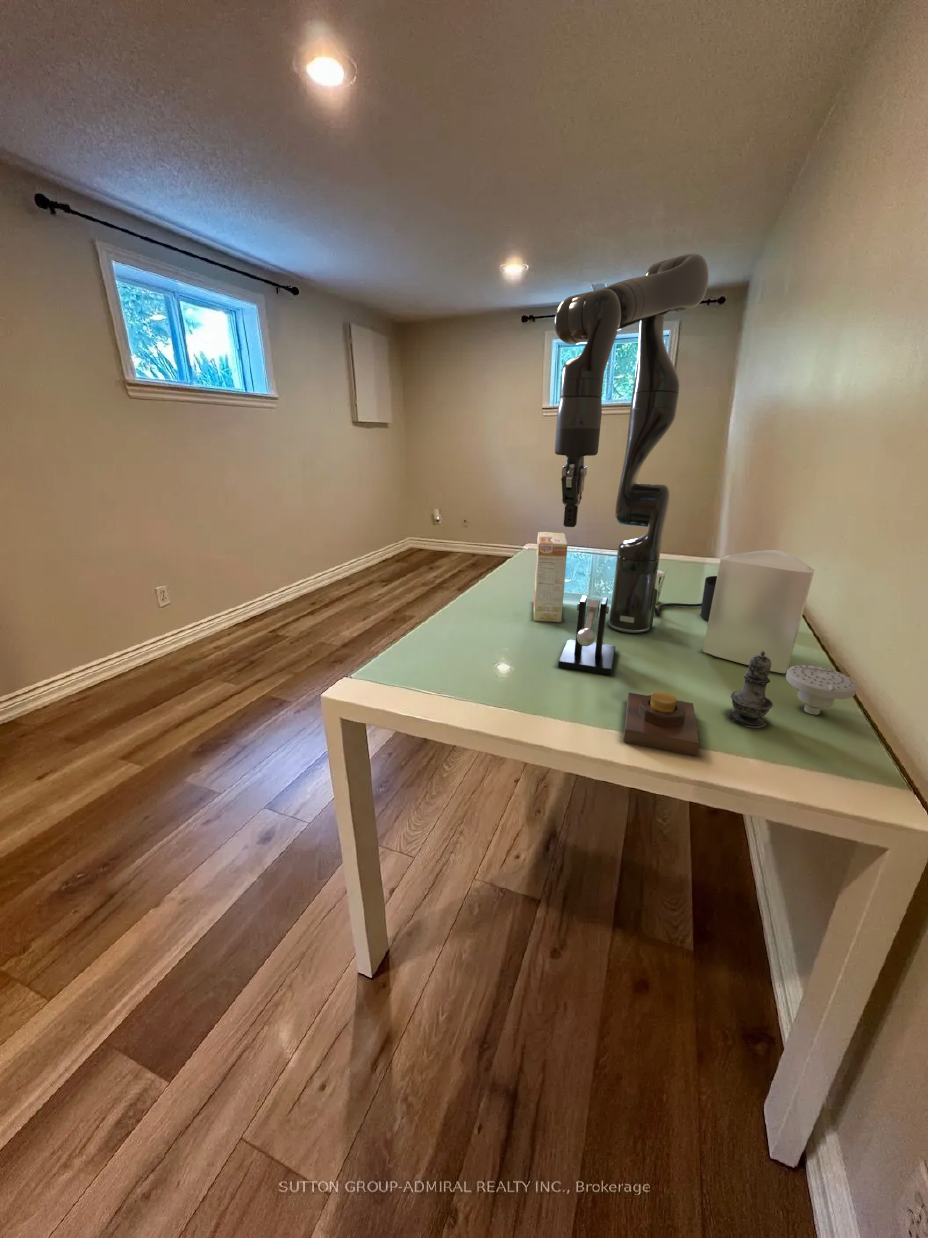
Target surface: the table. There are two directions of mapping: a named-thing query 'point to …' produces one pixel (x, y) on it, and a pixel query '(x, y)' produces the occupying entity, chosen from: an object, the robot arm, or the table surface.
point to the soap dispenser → (758, 607)
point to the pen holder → (708, 596)
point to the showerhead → (819, 686)
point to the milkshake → (659, 583)
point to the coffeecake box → (549, 576)
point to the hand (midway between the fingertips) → (569, 526)
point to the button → (663, 702)
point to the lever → (589, 623)
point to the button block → (661, 726)
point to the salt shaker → (753, 695)
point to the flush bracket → (591, 656)
